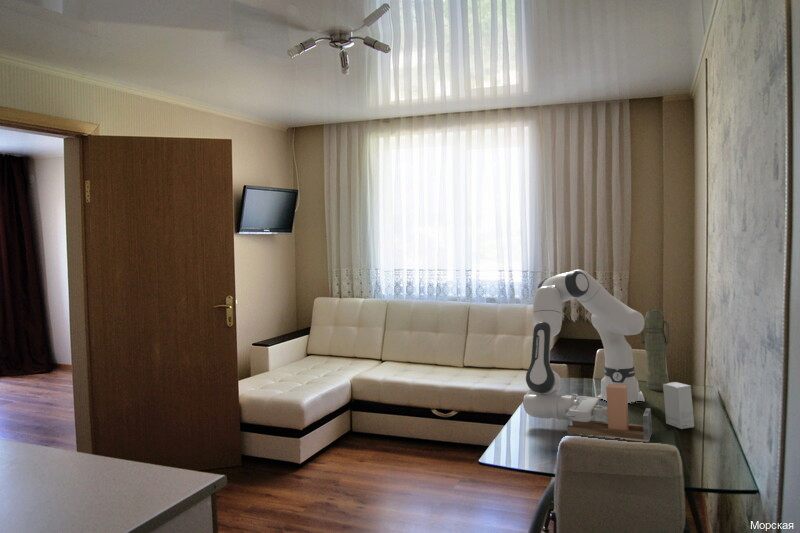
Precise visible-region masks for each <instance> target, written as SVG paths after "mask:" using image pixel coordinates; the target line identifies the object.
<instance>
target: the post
mask: <svg viewBox="0 0 800 533" xmlns="http://www.w3.org/2000/svg"><path fill="white" fill-rule="evenodd" d="M606 391H607V402H606V407H607V413H608V414H607V422H608V429H617V430H628V431H629V424H630V423H629V408H628V407H629V405H628V401H627V385H619V384H608V386H607V387H606Z"/></svg>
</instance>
